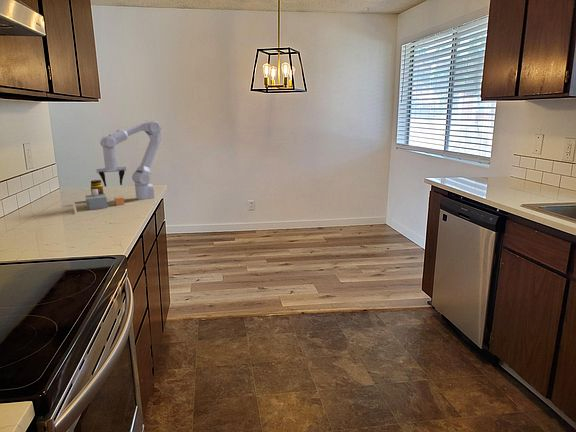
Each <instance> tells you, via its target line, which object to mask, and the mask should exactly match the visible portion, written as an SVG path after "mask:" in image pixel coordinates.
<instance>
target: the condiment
mask: <svg viewBox="0 0 576 432" xmlns="http://www.w3.org/2000/svg"><path fill="white" fill-rule="evenodd" d="M103 187H104V185H102V179H94V180H91V181H90V192H91V193H90V194H92V189H98V194H105V193H104V189H103Z"/></svg>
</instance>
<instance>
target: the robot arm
mask: <svg viewBox="0 0 576 432" xmlns="http://www.w3.org/2000/svg"><path fill="white" fill-rule="evenodd" d="M142 131H143V132H145V133H146V135H147V137H148V138H149V142H148V144H147V147H146V149H145V150H146V151H144V155H143V158H142V160H141V162H140V165H139V166H138V167H137V168H136V170H135V171H134V172H133V173H132V176H131V178H132V181H133V182H134V189H135V190H134V191H135V198H136V199H135V200H139V201H142V200H144V201H145V200H150V199H155V190H154V185H153V183H149V182H150V181H151V174H152V172H151V167H152V164H153V161H154V160H155V157H156V155H157V152H158V149H159V146H160V144H161V142H162V132H161V131H162V126H161V125H160V123H159V121H157V120H145V121H141V122H139V123H137V124H135V125H133V126H131V127H129V128H127V129H125V130H124V129H117V130H116V131H115V132H113V133H109V134H108V136H107V135H105V136H102V137H101V139H100V141H99V143H100V145H101V147H102V153H103V161H104V168H96V169H95V172H96V174H98V175H99V176H100V178H101V181H102V182H103V187H107V181H106V173H113V172H118V177H119V184H120V186H123V180H124V176H125V172H127V166H118V163H117V157H116V156H117V155H116V150H115V149H116V148H115V147H116V145H119V144H120V143H122V142H126V141H127V140H128V138H129V137H130V136H132V135H134V134H137V133H139V132H140V133H141V132H142Z"/></svg>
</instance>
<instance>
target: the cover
mask: <svg viewBox="0 0 576 432" xmlns="http://www.w3.org/2000/svg"><path fill="white" fill-rule="evenodd" d="M85 202H86V203H85V204H86V208H87V210H89V211H91V210H92V211H93V210H99V209H106V208H107V209H108V207H109V205H108V199H107V196H106V193H104V194H98V189H92V193H91V194H87V195H85Z"/></svg>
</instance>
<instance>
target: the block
mask: <svg viewBox="0 0 576 432" xmlns="http://www.w3.org/2000/svg"><path fill="white" fill-rule="evenodd" d="M114 204H115V206H125V198H124V196H123V195H122V196H114Z"/></svg>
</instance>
